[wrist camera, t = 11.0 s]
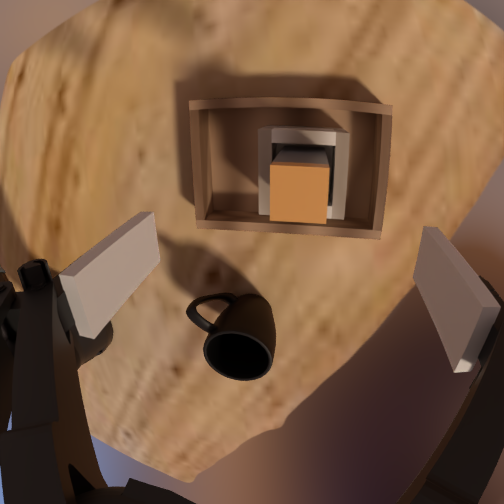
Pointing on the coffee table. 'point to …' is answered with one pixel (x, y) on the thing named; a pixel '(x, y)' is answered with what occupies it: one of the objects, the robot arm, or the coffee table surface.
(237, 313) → the mug
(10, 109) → the coffee table surface
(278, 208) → the connector
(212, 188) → the box
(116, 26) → the coffee table surface
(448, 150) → the coffee table surface
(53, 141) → the coffee table surface
